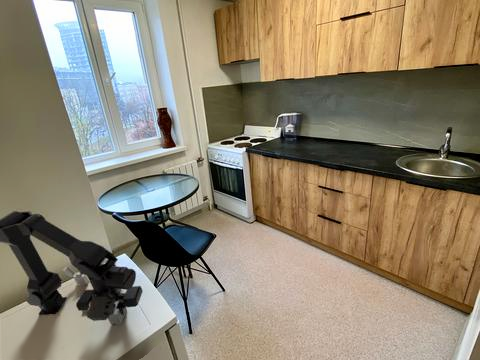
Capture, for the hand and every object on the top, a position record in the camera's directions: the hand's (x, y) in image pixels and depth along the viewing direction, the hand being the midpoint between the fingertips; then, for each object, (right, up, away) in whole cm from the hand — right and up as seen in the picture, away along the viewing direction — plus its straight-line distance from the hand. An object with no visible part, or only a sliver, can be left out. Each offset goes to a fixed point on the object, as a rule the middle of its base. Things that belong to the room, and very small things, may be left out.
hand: (118, 314), depth 84 cm
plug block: (0, -1, +1) cm, 1 cm away
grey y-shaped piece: (-22, +4, +15) cm, 27 cm away
